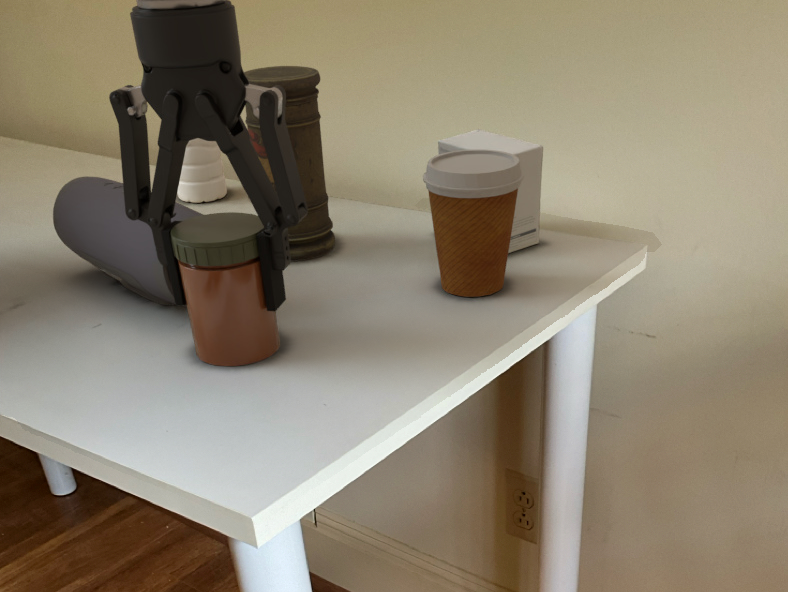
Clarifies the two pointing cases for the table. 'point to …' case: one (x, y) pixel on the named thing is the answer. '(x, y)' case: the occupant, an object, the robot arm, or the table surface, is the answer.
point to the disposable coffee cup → (473, 217)
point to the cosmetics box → (530, 188)
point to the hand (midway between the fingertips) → (230, 302)
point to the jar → (229, 313)
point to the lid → (217, 239)
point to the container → (299, 153)
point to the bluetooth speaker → (113, 236)
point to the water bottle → (202, 172)
